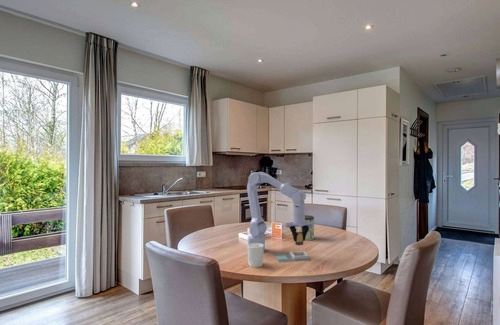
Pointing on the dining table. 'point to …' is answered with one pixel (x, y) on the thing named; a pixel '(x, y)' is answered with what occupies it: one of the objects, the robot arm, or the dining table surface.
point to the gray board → (292, 256)
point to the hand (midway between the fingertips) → (299, 240)
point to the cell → (299, 238)
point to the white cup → (255, 254)
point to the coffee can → (311, 228)
